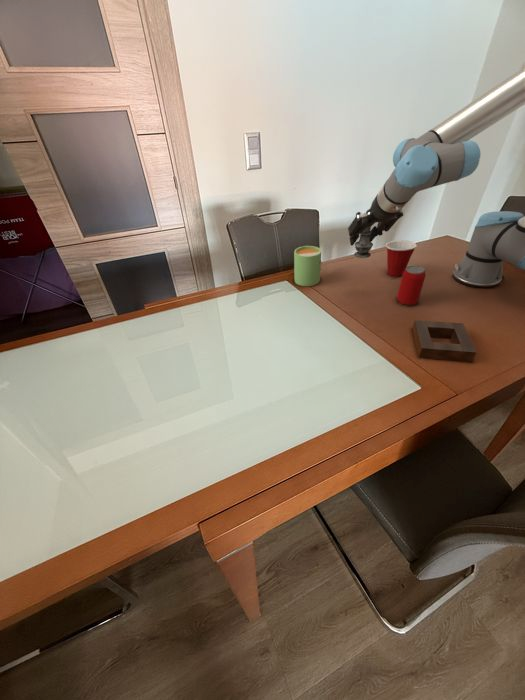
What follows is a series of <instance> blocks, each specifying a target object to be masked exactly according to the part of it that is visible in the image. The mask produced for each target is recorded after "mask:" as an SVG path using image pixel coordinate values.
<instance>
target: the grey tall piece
mask: <svg viewBox="0 0 525 700" xmlns="http://www.w3.org/2000/svg"><path fill="white" fill-rule="evenodd" d="M371 230H372V226H369V227H367V228H366V229H365V230H364V231H363V232H361V233H360V234H359V239H358V241H356V242H355V243H354V248H355V251H356V252H355V253H354V256H355V257H356V258H359V259H366V258H369V257H371V253H370V251H371V250H372V248H373V246H374V243H373V242H370V240H369V238H370V234H371V232H370V231H371Z"/></svg>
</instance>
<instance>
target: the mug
mask: <svg viewBox="0 0 525 700" xmlns="http://www.w3.org/2000/svg"><path fill="white" fill-rule="evenodd" d="M322 261H323V260H322V249H321V248H320V247H318V246H314V245H303V246H299V247H296V248H295V249H294V252H293V263H294V265H293V269H294V270H293V274H294V275H293V276H294V283H295V284H296V285H297V286H302V287H313V286H316V285H317V284H319V283H320V282H321V270H322V268H321V266H322Z"/></svg>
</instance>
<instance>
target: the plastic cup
mask: <svg viewBox="0 0 525 700" xmlns="http://www.w3.org/2000/svg"><path fill="white" fill-rule="evenodd" d="M417 247H418V245H417V242H415V241H411V240H401V239H400V240H392V241H389V242H386V243H385V248H386V255H387V257H386V266H387V268H386V269H387V270H386V272H387V275H388V276H390V277H394V278H399V277H402V275H403V272H404V271H405V269H406V268H407V267H408V266H409V262H410V260H411V257H412V255H413V254H414V251H415V249H416V248H417Z"/></svg>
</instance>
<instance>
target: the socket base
mask: <svg viewBox="0 0 525 700" xmlns="http://www.w3.org/2000/svg"><path fill="white" fill-rule="evenodd" d="M411 331H412V336H413V341H414V345H415V348H416V352H417V357H418V358H419V359H431V360H443V361H444V360H445V361H453V362H463V363H464V362H465V363H473V360H474V358H475V356H476V354H477V349H476V348H475V347H474V344H473V341H472V339H471V337H470V335H469V332H468V330H467V328H466V326H465V324H464V322H450V321H449V322H448V321H447V322H446V321H434V320H433V321H432V320H431V321H429V320H416V319H415V320H414V321H413V324H412V328H411ZM431 337H432V338H443V339H450V341H451V343H449V342H436V341H433V340H432V338H431Z"/></svg>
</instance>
